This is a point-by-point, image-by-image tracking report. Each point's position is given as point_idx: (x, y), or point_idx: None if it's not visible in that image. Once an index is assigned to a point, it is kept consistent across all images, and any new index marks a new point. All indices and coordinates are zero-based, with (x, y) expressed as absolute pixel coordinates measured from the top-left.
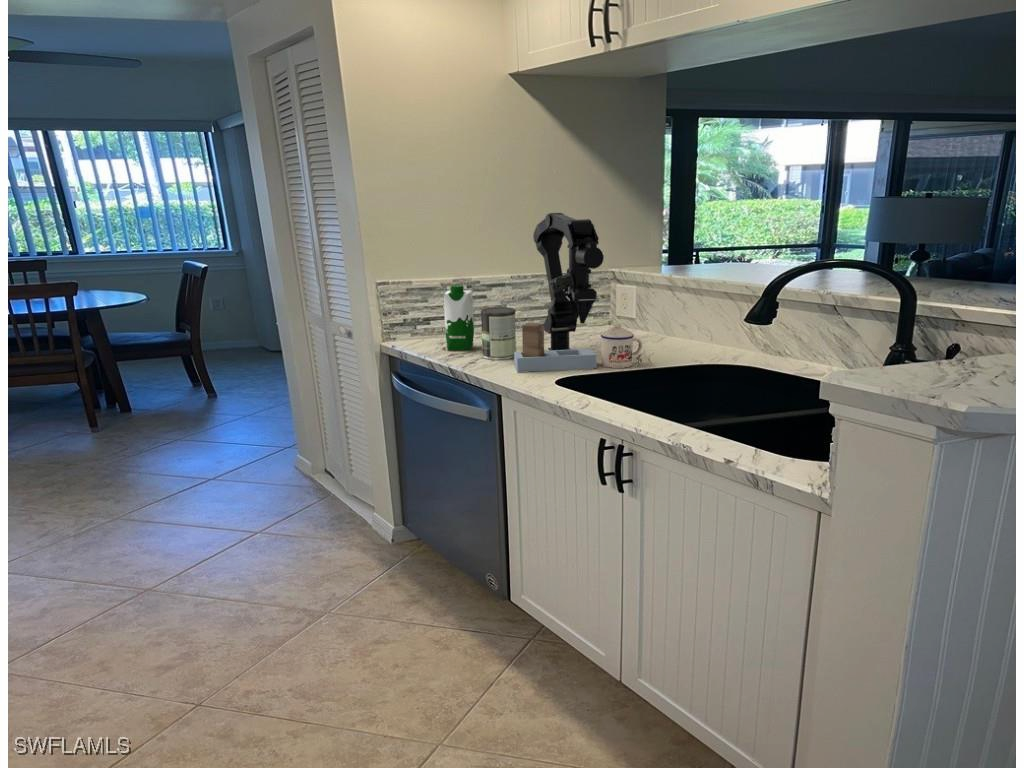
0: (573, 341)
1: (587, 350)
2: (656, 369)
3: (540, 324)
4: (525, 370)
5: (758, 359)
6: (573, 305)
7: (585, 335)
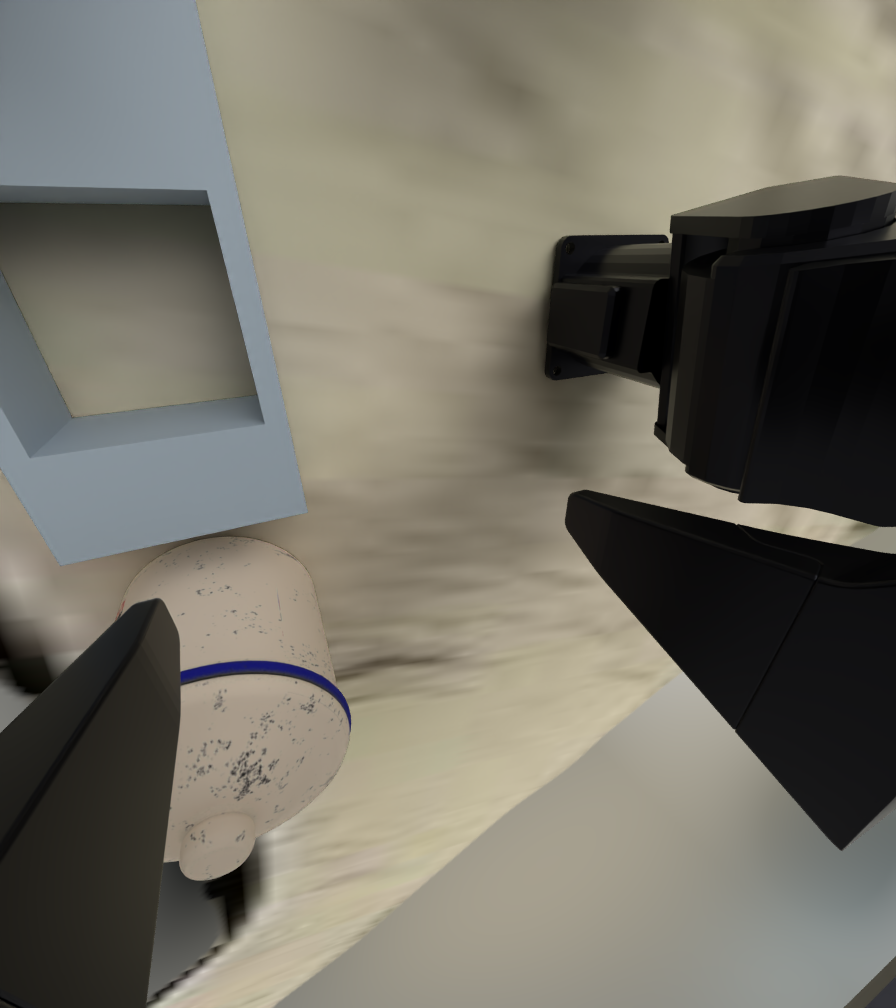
0: None
1: (238, 494)
2: None
3: None
4: None
5: (331, 916)
6: (709, 566)
7: None
